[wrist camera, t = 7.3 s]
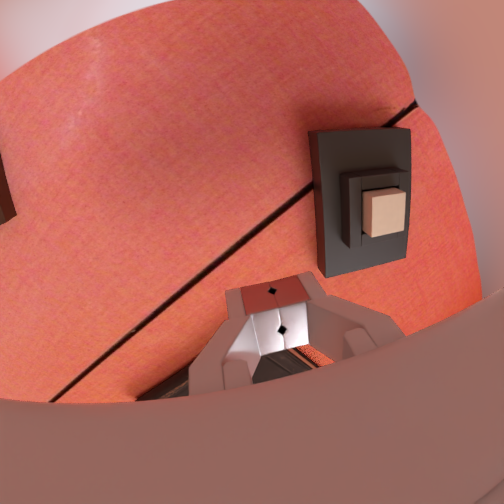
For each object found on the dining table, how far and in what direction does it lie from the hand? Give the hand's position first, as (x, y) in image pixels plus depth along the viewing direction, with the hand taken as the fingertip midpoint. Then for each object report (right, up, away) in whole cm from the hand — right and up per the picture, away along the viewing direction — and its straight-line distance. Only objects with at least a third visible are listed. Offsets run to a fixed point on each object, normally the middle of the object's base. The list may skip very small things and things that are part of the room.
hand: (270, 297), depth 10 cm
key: (+11, +5, +14) cm, 18 cm away
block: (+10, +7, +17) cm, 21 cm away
